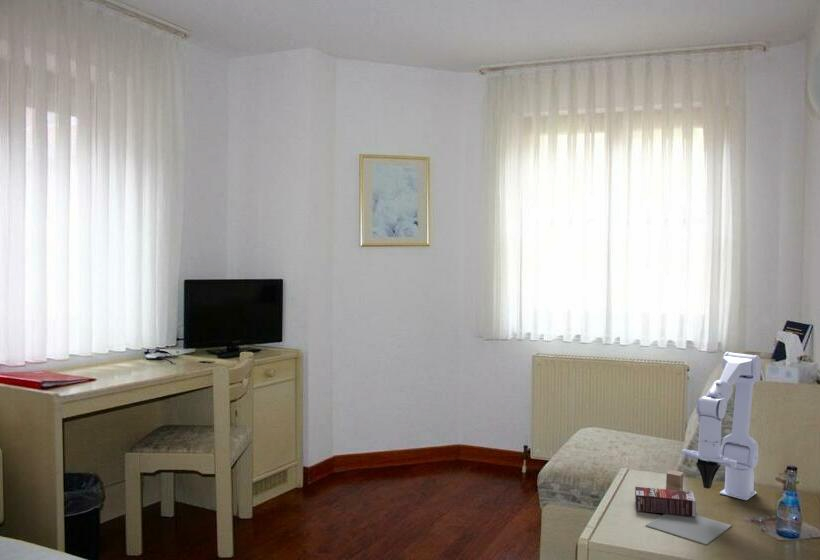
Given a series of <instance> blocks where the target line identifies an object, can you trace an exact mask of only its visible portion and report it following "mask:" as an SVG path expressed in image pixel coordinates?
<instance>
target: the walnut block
mask: <svg viewBox="0 0 820 560" xmlns="http://www.w3.org/2000/svg"><path fill="white" fill-rule="evenodd" d="M665 483H666V484H665V489H667V490H679V491H684V472H683V471H678V470H672V469H669V470H668V471H667V472H666V481H665Z"/></svg>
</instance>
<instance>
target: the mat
mask: <svg viewBox="0 0 820 560" xmlns="http://www.w3.org/2000/svg"><path fill="white" fill-rule="evenodd" d="M732 526H733V524H729V523H725V522H721V521H718V520H716V519H712V518H708V517H704V516H702V515H697V514H696V516H695V517H692V516H683V515H674V514H664V513H663V514H662V515H660V516H659V517H657V518H655V519H654V520H652V521H650V522H648V523H647V524H645V527H647V528H651V529H654V530H657V531H660V532H663V533H667V534H670V535H673V536H675V537H679V538H682V539H685V540H688V541H692V542H695V543H697V544H701V545H705V546H707V545H709V544H710V543H711V542H713V541H714V540H715V539H717V538H718V537H719V536H721V535H722V534H724V533H725V532H727V530H729V529H730V528H732Z"/></svg>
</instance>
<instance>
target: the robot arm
mask: <svg viewBox="0 0 820 560" xmlns="http://www.w3.org/2000/svg"><path fill="white" fill-rule="evenodd" d="M762 364H763V362H762V359H761V357H760V356H759V354H747V353H737V352H730V351H726V352H725V353H724V354H723V356H722V358H721V368H722V372H721V374H720V375H721V376H720V377H719V379H717V380H715V381H713V382H712V384H711V385H710V387H709V389H708V391H707V393H706V394H705V395H703V396H701V397H700V398H698V399H697V403H696V409H695V410H696V414H697V422H698V423H699V424H698V444H697V445H698V448H697V450H692V449H687V448H684V449H681V457H682V458H689V459H693V460H697V461H696V463H695V464H696V465H695V466H696V468H697V469H698V471H699V473H700V477H701V480H702V485H703V488H705V489H711V488H712V485H713V483H714V482H713V481H714V478H715V476H716V474H717V472H718V470H719V469H720V467H721V466H724V467H725V475H724V477H725V478H724V488H723V489H722V490H721V491H719V494H720V495H723V496H727V497H732V498H736V499H738V500H739V499H740V500H743V501H748V500H749V499H750V498H752V497H753V496H755V495H756V494H757V491H754V488H755V485H754V484H755V470H754V469H755V468H756V467H757V466H758V463H759V457H760V452H759V443H758V442H757V441H756V440H755V439H754V438H753V437H752V436H750V428H751V417H752V416H751V415H752V404H753V393H754V385H755V383H757V382H760V380H761V374H762V366H763V365H762ZM734 384H735V393H734V403H733V405H734V406H733V415H732V427H731V428H732V429H731V433H729V434H727V435H725V436H724V437H723V438H722V422H723V419H724V418H725V415H726V413H727V408H728V405H727V404H728V402H729V399H730V398H731V397H732V394H733V392H734V391H733V390H734V389H733V387H732V386H734Z"/></svg>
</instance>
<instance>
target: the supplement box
mask: <svg viewBox="0 0 820 560" xmlns="http://www.w3.org/2000/svg"><path fill="white" fill-rule="evenodd" d="M634 498H635V499H634V500H635V501H634V502H635V511H636V512H644V513H645V512H646V513H654V514H655V513H656V514H663V515H664V514H674V515H683V516H692V517H695V516H696V515H697V512H696V511H697V502H696V498H695V496H694V493H693V491H690V490H683V491H679V490H667V489H666V488H665V489H664V488H654V487H653V488H652V487H645V486H644V487H641V486H635V487H634Z"/></svg>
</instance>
